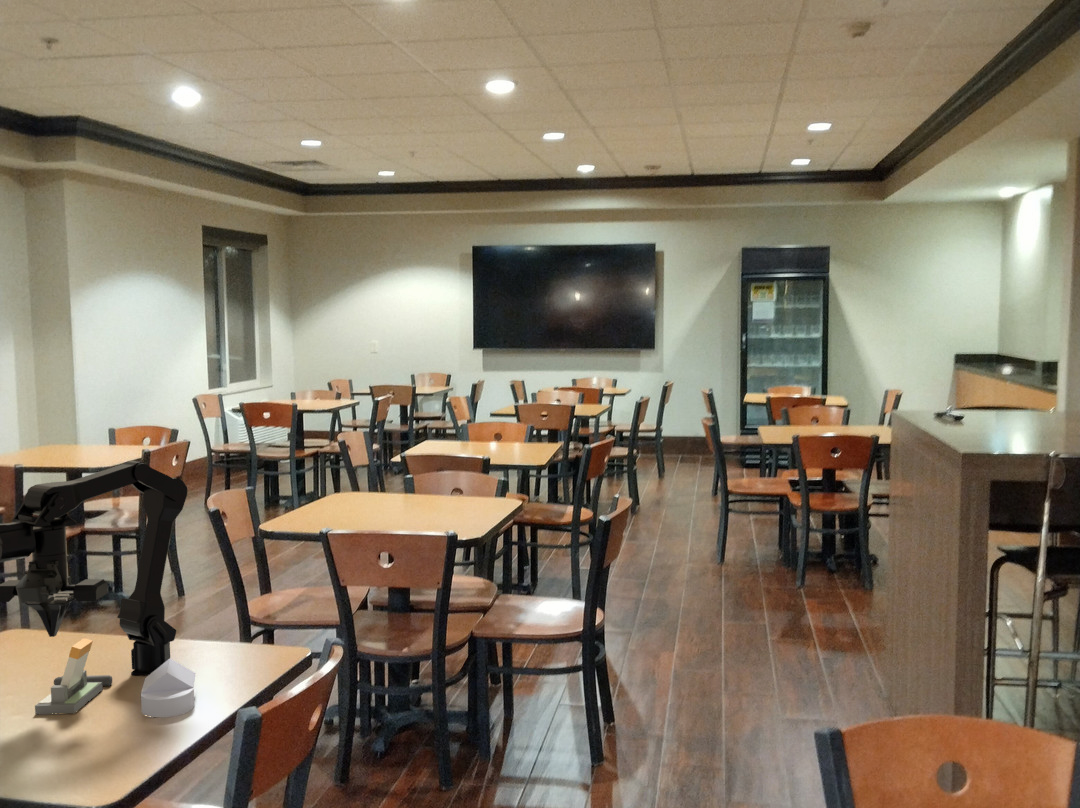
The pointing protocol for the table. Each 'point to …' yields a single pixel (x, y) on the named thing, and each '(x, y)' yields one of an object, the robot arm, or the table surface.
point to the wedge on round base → (168, 690)
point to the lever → (76, 664)
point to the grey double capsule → (91, 679)
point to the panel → (68, 697)
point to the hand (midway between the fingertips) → (52, 636)
